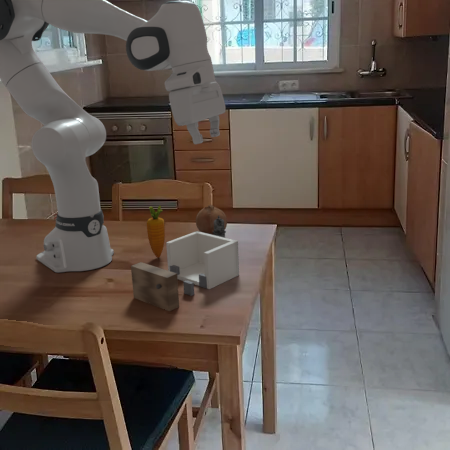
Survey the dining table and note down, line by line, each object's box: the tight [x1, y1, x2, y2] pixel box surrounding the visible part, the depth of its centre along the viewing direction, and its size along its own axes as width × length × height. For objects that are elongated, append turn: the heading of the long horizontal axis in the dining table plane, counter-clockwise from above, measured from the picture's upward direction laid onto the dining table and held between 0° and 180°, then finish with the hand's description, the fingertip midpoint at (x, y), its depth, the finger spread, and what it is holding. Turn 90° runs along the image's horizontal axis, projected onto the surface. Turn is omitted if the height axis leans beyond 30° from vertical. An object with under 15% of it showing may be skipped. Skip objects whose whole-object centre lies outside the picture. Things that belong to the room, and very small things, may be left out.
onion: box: [195, 203, 228, 235], centre depth 174 cm, size 10×9×10 cm
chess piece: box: [213, 216, 227, 238], centre depth 157 cm, size 6×6×12 cm
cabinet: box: [165, 230, 240, 297], centre depth 144 cm, size 14×16×9 cm
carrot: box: [146, 205, 166, 259], centre depth 158 cm, size 5×5×15 cm
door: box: [130, 261, 180, 312], centre depth 131 cm, size 12×4×8 cm, turn 49°
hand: (207, 139), depth 131 cm, fingers open, 8 cm apart
